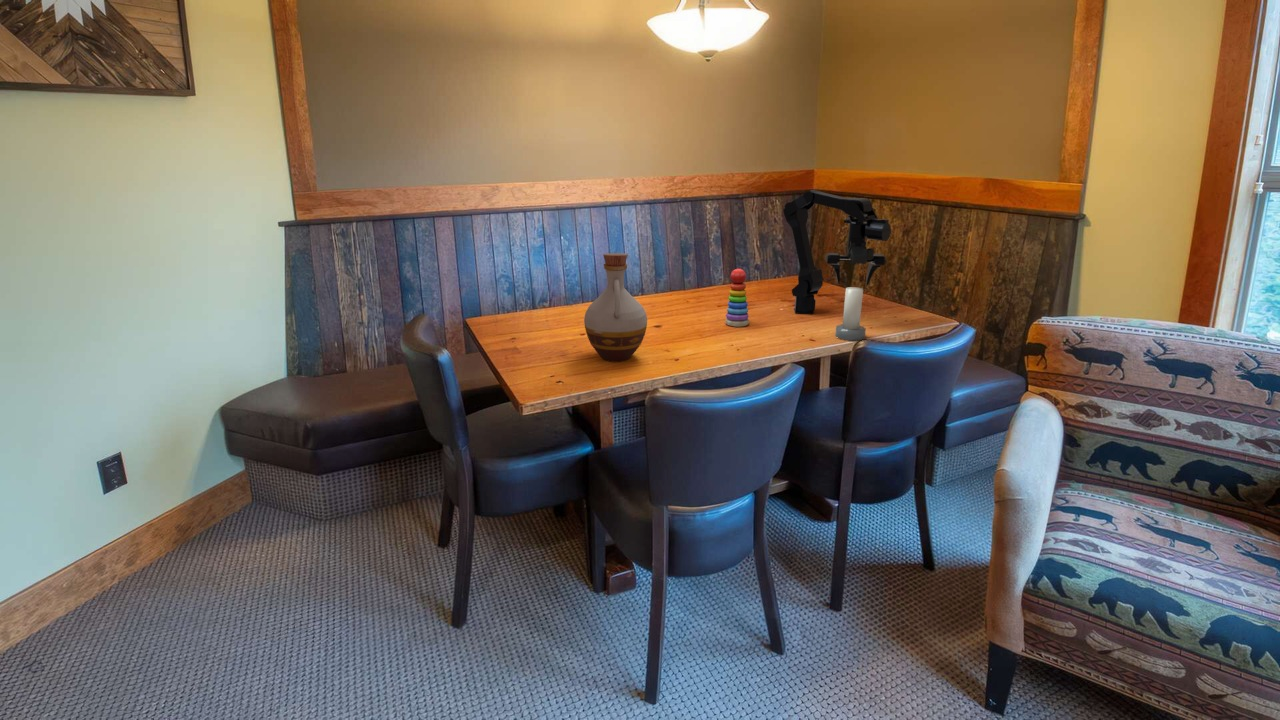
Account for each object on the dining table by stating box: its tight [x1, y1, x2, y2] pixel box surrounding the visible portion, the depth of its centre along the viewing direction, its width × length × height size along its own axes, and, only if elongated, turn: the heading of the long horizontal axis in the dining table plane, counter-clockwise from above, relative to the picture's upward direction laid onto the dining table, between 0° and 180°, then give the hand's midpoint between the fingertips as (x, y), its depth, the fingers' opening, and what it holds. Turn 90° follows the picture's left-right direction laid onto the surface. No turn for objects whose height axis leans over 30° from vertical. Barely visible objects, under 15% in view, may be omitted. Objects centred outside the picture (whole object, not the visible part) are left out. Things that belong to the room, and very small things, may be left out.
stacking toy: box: [724, 268, 750, 328], centre depth 240 cm, size 8×8×19 cm
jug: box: [583, 252, 648, 363], centre depth 202 cm, size 20×18×30 cm
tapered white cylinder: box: [842, 286, 864, 330], centre depth 226 cm, size 5×5×12 cm
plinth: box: [835, 323, 866, 342], centre depth 229 cm, size 9×9×3 cm
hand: (852, 284), depth 243 cm, fingers open, 9 cm apart
